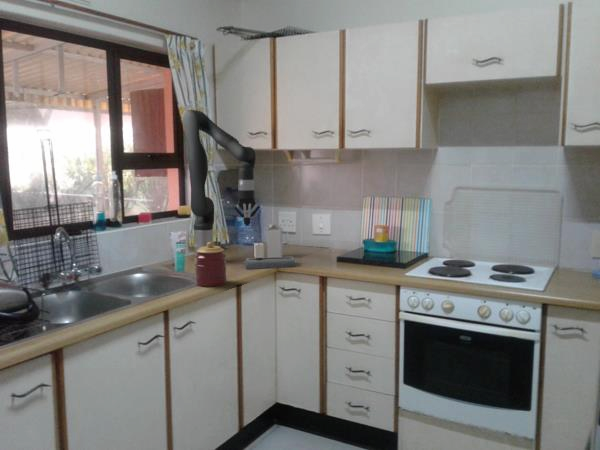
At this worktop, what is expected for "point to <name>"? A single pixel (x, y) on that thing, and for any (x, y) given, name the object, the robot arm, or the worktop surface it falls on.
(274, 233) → the milk carton
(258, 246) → the fader tab
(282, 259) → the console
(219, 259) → the canister
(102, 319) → the worktop surface
